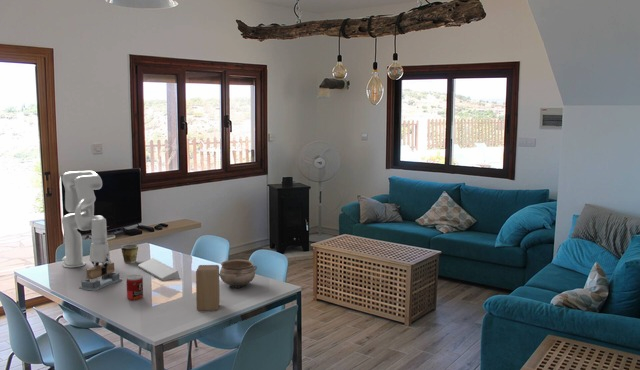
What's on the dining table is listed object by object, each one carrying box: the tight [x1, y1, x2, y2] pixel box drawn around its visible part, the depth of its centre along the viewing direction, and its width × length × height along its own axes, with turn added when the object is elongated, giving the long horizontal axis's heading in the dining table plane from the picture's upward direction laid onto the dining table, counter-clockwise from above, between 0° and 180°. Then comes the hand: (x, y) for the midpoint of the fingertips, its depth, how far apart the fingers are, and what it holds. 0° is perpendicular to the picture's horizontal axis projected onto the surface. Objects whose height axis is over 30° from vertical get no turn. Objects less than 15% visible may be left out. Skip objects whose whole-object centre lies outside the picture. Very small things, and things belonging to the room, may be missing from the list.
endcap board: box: [78, 271, 123, 291], centre depth 303 cm, size 10×21×4 cm, turn 158°
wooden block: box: [195, 264, 220, 312], centre depth 268 cm, size 10×10×20 cm
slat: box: [86, 261, 115, 280], centre depth 302 cm, size 4×16×5 cm, turn 158°
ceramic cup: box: [120, 244, 139, 264], centre depth 347 cm, size 13×10×10 cm
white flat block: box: [137, 257, 180, 282], centre depth 326 cm, size 34×5×10 cm
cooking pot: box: [219, 258, 258, 288], centre depth 303 cm, size 25×19×12 cm
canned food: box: [126, 274, 144, 301], centre depth 281 cm, size 8×8×11 cm
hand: (100, 273), depth 302 cm, fingers closed on slat, 4 cm apart
